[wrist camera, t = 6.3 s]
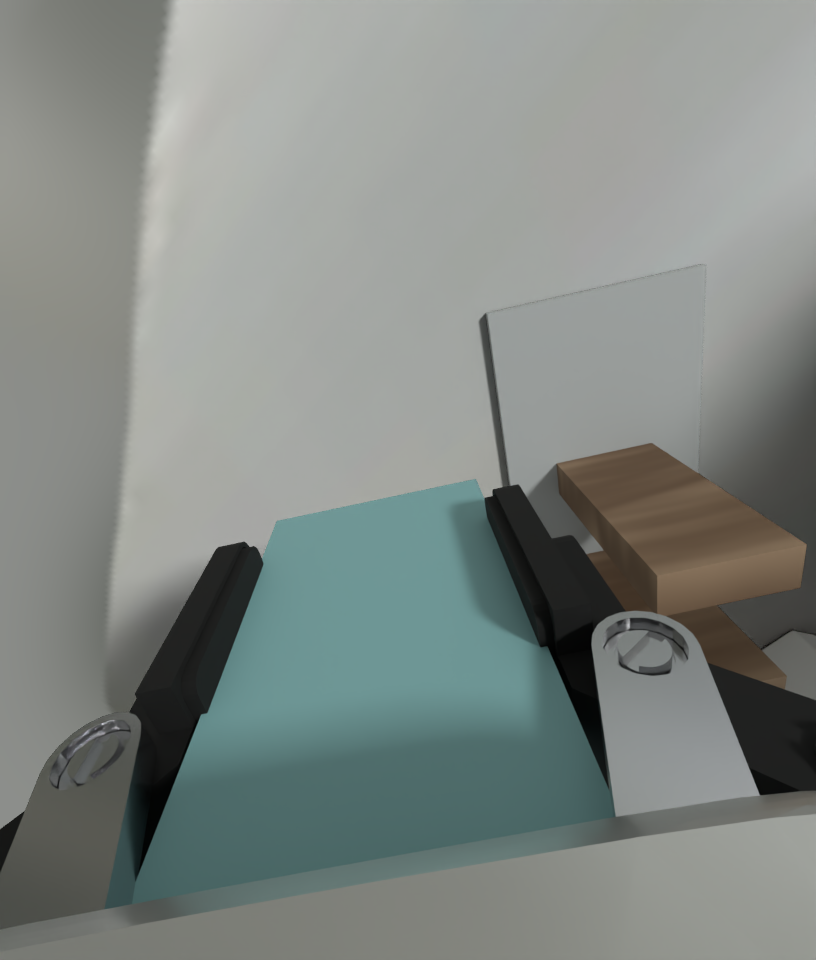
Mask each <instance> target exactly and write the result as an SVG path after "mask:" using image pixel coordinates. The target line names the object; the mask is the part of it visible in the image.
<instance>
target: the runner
mask: <svg viewBox="0 0 816 960" xmlns="http://www.w3.org/2000/svg"><path fill="white" fill-rule="evenodd" d="M706 267H707V264H700V265H696V266H691V267H687V268H683V269H678V270H674V271H669V272H665V273H660V274H656V275H652V276H647V277H643V278H638V279H634V280H630V281H625V282H621V283H616V284H612V285H607V286H603V287H599V288H594V289H590V290H585V291H581V292H577V293H572V294H568V295H563V296H559V297H554V298H550V299H546V300H541V301H537V302H532V303H528V304H524V305H519V306H515V307H510V308H506V309H501V310H497V311H493V312H488V313H486V320H487V327H488V334H489V342H490V349H491V356H492V364H493V371H494V378H495V386H496V393H497V400H498V407H499V415H500V422H501V429H502V437H503V444H504V451H505V459H506V466H507V473H508V481H509V486H512V485H517V484H519V486H520V487H521V489H522V490H523V492H524V494H525V495H526V497H527V498H528V500H529V502H530V503H531V505H532V507H533V508H534V510H535V512H536V513H537V515H538V517H539V518H540V520H541V521H542V523H543V525H544V526H545V528H546V530H547V531H548V533H549V535H550V536H551V538H557V537H562V536H566V535H573V536H574V538H575V539H576V540H577V541H578V543H579V544H580V546H581V547H582V549H583V550H584V551H585V553H586V554H589V553H594V552H599V551H603V549H602V547H601V546H600V545H599V544H598V542H597V541H596V540H595V538H594V537H593V536H592V535H591V533H590V532H589V531H588V530H587V528H586V527H585V526H584V525H583V523H582V522H581V521H580V520H579V518H578V517H577V516H576V515H575V513H574V512H573V511H572V510H571V508H570V507H569V506H568V504H567V503H566V502H565V501H564V499H563V498H562V497H561V496H560V494H559V487H558V476H557V465H556V463H561V462H565V461H570V460H575V459H579V458H584V457H589V456H593V455H598V454H602V453H607V452H612V451H616V450H621V449H625V448H630V447H635V446H639V445H644V444H648V443H653V444H654V445H656V446H657V447H659V448H660V449H662V450H663V451H665V452H667V453H668V454H670V455H671V456H673V457H674V458H676V459H677V460H679V461H680V462H682V463H683V464H685V465H686V466H688V467H689V468H691V469H692V470H694V471H696V472H697V473H698V464H699V440H700V415H701V390H702V366H703V341H704V316H705V292H706Z"/></svg>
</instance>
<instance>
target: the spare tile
mask: <svg viewBox="0 0 816 960" xmlns="http://www.w3.org/2000/svg"><path fill="white" fill-rule="evenodd" d="M262 561H263V563H264V565H263V567H262V570H261V573H260V575H259V578H258V581H257V583H256V586H255V589H254V591H253V594H252V597H251V599H250V602H249V605H248V607H247V610H246V612H245V615H244V618H243V620H242V623H241V626H240V628H239V631H238V634H237V636H236V639H235V642H234V644H233V647H232V650H231V652H230V655H229V657H228V660H227V663H226V665H225V668H224V671H223V673H222V676H221V679H220V681H219V684H218V687H217V689H216V692H215V694H214V697H213V700H212V702H211V705H210V708H209V710H208V713H206V714H201V716H200V719H199V721H198V724H197V726H196V729H195V731H194V734H193V737H192V739H191V742H190V744H189V747H188V749H187V752H186V754H185V757H184V760H183V762H182V765H181V767H180V770H179V772H178V775H177V777H176V780H175V783H174V785H173V788H172V790H171V793H170V795H169V798H168V800H167V803H166V806H165V808H164V811H163V813H162V816H161V818H160V821H159V823H158V826H157V829H156V831H155V834H154V836H153V839H152V841H151V844H150V846H149V849H148V852H147V854H146V857H145V859H144V862H143V864H142V867H141V869H140V872H139V875H138V877H137V880H136V882H135V888H134V894H133V901H132V904H136V903H141V902H147V901H152V900H157V899H162V898H168V897H173V896H178V895H184V894H189V893H194V892H200V891H205V890H210V889H216V888H221V887H227V886H232V885H238V884H243V883H249V882H254V881H260V880H265V879H270V878H276V877H281V876H287V875H292V874H298V873H303V872H309V871H314V870H320V869H325V868H331V867H336V866H342V865H347V864H353V863H358V862H364V861H369V860H375V859H380V858H386V857H391V856H397V855H402V854H408V853H413V852H419V851H424V850H430V849H436V848H441V847H447V846H453V845H458V844H464V843H470V842H476V841H481V840H487V839H493V838H498V837H504V836H510V835H515V834H521V833H527V832H532V831H538V830H544V829H549V828H555V827H561V826H566V825H572V824H578V823H583V822H589V821H595V820H600V819H606V818H612V817H613V812H612V805H611V797H610V791H609V789H608V787H607V784H606V782H605V780H604V777H603V775H602V773H601V770H600V768H599V766H598V763H597V761H596V759H595V756H594V754H593V752H592V749H591V747H590V745H589V742H588V740H587V738H586V735H585V733H584V731H583V728H582V726H581V724H580V721H579V719H578V717H577V714H576V712H575V710H574V707H573V705H572V703H571V700H570V698H569V696H568V693H567V691H566V689H565V686H564V684H563V682H562V679H561V677H560V675H559V672H558V670H557V667H556V665H555V663H554V660H553V658H552V656H551V653H550V651H549V649H548V646H546V647H541V648H540V646H539V643H538V641H537V638H536V636H535V633H534V631H533V629H532V626H531V624H530V621H529V619H528V616H527V614H526V611H525V609H524V607H523V604H522V602H521V599H520V597H519V594H518V592H517V589H516V587H515V584H514V582H513V580H512V577H511V575H510V572H509V570H508V567H507V565H506V562H505V560H504V558H503V555H502V553H501V550H500V548H499V545H498V543H497V540H496V538H495V536H494V533H493V531H492V528H491V526H490V523H489V521H488V518H487V514H486V508H485V499H484V497H483V495H482V492H481V490H480V488H479V485H478V483H477V481H476V479H473V480H469V481H464V482H459V483H455V484H450V485H445V486H440V487H436V488H431V489H426V490H421V491H417V492H412V493H407V494H403V495H398V496H393V497H388V498H384V499H379V500H374V501H370V502H365V503H360V504H355V505H351V506H346V507H341V508H336V509H332V510H327V511H322V512H318V513H313V514H308V515H303V516H299V517H294V518H289V519H284V520H280V521H277V522H276V525H275V527H274V530H273V532H272V535H271V537H270V540H269V542H268V545H267V548H266V550H265V553H264V555H263V558H262Z"/></svg>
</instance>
